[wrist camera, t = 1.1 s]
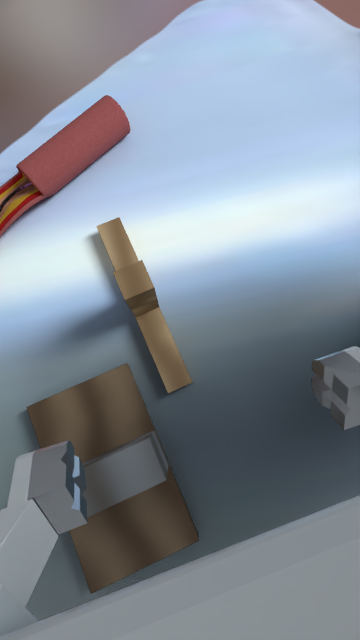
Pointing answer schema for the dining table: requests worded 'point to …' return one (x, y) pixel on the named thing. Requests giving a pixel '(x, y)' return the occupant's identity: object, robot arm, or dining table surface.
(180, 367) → the oak bar
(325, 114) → the dining table surface
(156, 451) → the stand
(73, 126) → the artery
